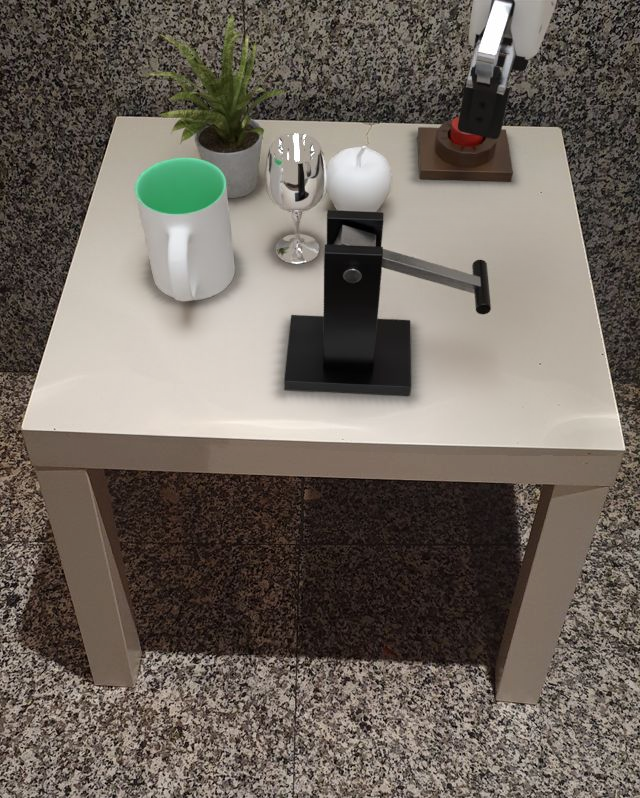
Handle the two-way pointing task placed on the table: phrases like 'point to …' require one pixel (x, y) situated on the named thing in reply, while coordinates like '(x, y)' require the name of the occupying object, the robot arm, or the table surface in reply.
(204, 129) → the house plant
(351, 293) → the bracket
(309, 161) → the wineglass
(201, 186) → the mug
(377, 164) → the plain white apple
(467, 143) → the button
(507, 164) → the button block
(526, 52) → the robot arm
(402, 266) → the lever
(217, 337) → the table surface
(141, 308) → the table surface
